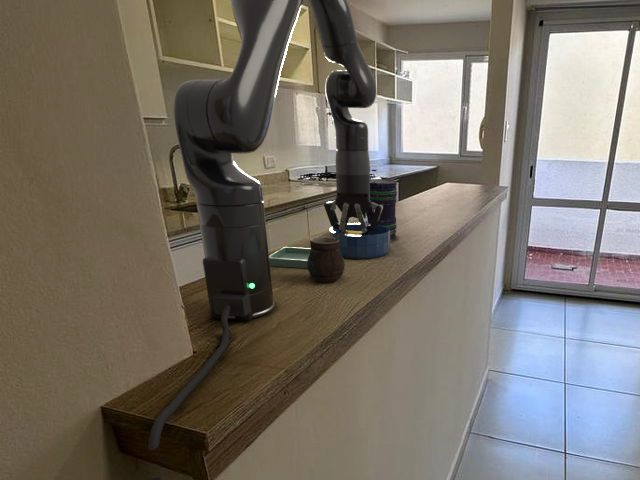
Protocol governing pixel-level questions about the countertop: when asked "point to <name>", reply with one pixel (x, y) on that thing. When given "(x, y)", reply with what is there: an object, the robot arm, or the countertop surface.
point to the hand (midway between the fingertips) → (354, 246)
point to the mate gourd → (326, 259)
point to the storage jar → (384, 203)
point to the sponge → (354, 233)
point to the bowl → (363, 242)
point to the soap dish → (290, 257)
